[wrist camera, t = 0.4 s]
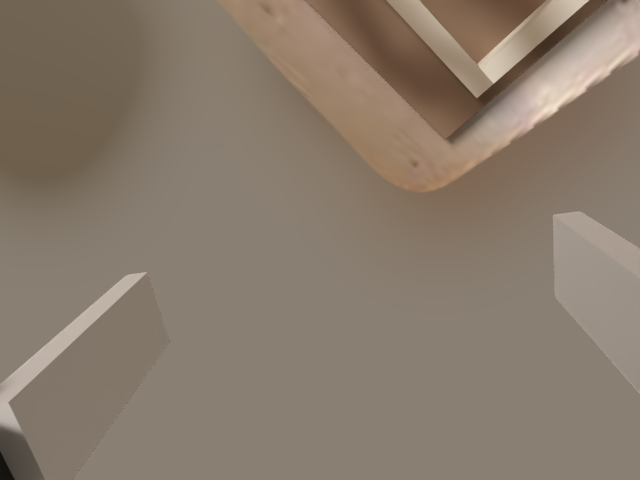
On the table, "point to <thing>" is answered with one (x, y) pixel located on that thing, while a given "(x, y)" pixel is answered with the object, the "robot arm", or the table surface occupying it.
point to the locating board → (452, 46)
